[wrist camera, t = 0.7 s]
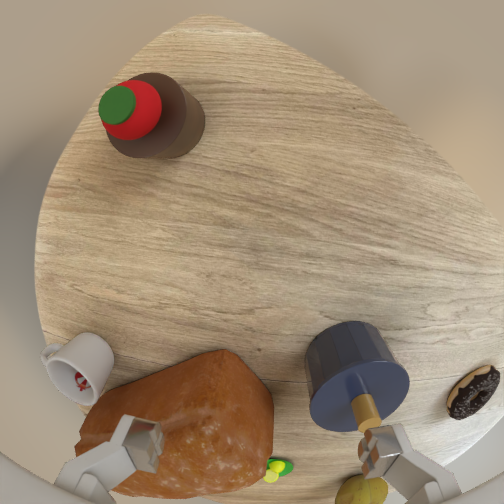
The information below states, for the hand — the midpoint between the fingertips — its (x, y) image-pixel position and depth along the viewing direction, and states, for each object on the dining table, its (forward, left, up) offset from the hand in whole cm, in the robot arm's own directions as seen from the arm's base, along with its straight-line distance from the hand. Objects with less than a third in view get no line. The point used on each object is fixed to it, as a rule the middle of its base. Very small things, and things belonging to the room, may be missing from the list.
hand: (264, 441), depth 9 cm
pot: (+7, +14, -21) cm, 27 cm away
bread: (+25, -2, -21) cm, 33 cm away
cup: (+22, -17, -21) cm, 35 cm away
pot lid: (+7, +14, -14) cm, 21 cm away
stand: (-9, -14, -21) cm, 27 cm away
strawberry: (-9, -14, -14) cm, 22 cm away
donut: (+7, +44, -21) cm, 49 cm away
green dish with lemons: (+36, +18, -21) cm, 45 cm away
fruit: (+37, +39, -21) cm, 58 cm away
